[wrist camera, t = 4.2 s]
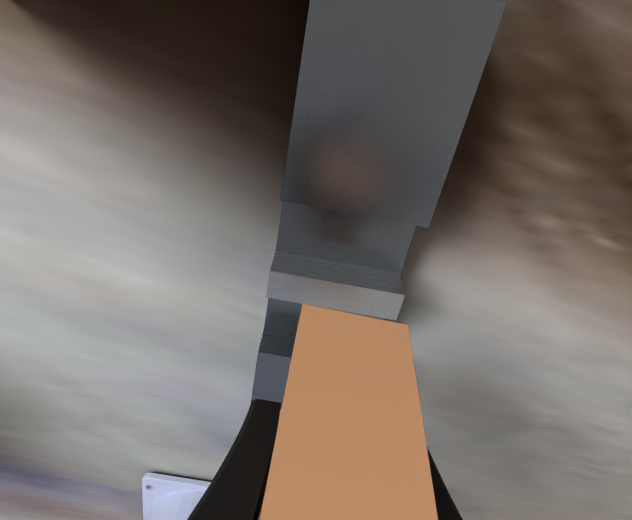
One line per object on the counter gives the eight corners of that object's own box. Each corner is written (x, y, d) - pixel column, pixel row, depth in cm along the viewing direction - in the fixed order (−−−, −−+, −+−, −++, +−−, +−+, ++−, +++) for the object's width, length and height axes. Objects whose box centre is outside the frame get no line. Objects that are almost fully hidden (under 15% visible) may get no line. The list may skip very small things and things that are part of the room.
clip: (363, 447, 14) (365, 693, 9) (276, 430, 14) (228, 668, 9) (408, 325, 11) (446, 569, 6) (302, 303, 11) (257, 533, 6)
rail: (344, 422, 24) (344, 468, 22) (253, 407, 24) (243, 452, 21) (479, 1, 14) (506, 2, 11) (320, -32, 13) (315, -39, 11)
